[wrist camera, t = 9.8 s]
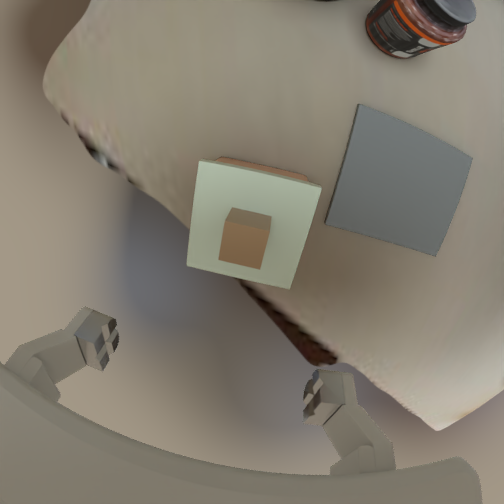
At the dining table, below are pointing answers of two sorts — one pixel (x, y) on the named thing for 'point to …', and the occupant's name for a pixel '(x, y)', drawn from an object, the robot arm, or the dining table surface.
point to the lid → (249, 222)
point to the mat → (397, 183)
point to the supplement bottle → (418, 25)
